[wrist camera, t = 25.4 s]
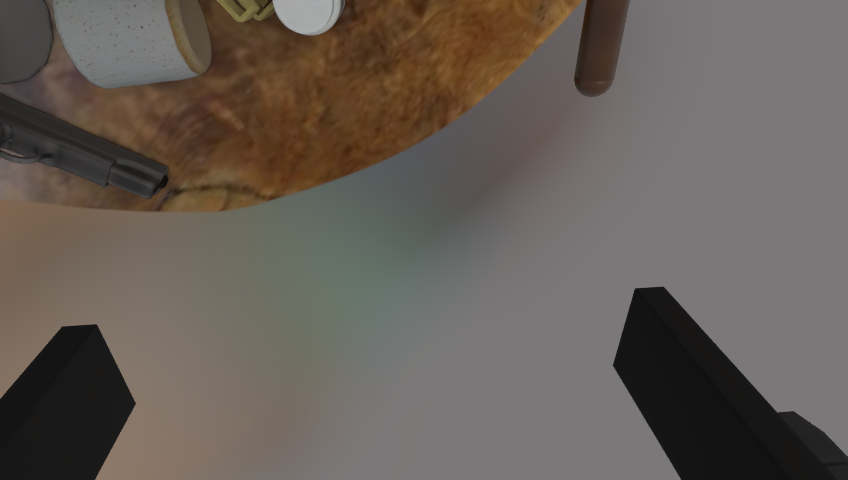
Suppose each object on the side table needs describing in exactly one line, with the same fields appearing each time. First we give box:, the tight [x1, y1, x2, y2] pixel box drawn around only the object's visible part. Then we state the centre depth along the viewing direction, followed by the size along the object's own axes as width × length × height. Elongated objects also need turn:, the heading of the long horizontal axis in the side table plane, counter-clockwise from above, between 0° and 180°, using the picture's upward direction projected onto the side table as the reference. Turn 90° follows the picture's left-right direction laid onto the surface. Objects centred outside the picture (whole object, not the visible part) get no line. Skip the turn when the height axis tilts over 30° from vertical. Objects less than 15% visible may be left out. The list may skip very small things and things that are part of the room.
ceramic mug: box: [53, 0, 211, 89], centre depth 34 cm, size 11×8×8 cm
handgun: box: [0, 95, 169, 199], centre depth 36 cm, size 3×19×12 cm, turn 58°
